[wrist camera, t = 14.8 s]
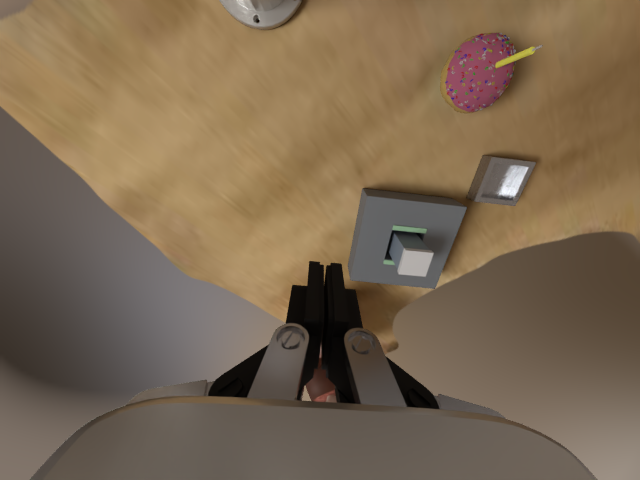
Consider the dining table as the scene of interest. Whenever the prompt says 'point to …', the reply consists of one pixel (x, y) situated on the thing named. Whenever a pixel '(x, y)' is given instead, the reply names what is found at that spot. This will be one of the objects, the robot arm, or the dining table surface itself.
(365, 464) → the robot arm
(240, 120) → the dining table surface
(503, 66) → the cupcake
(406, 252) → the plug
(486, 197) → the box
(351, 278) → the port block
